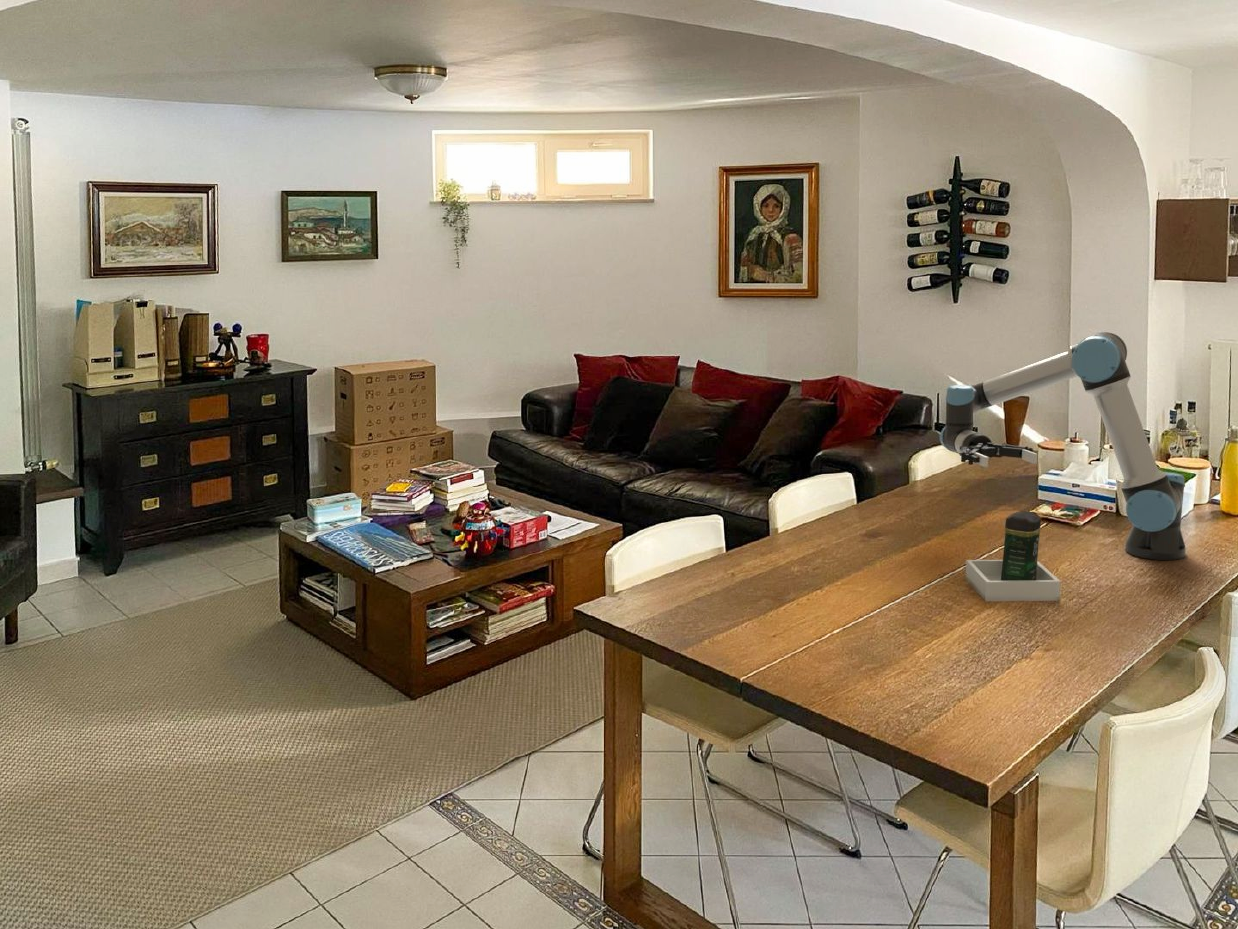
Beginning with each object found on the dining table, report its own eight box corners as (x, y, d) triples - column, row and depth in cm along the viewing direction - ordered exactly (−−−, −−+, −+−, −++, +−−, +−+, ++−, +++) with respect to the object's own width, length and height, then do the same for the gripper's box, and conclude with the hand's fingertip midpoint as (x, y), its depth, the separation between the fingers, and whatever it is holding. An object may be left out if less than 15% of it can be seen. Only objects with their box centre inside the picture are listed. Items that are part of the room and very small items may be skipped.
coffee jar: (1028, 591, 268) (1034, 519, 264) (997, 585, 272) (1001, 514, 268) (1040, 580, 275) (1045, 511, 271) (1009, 575, 280) (1013, 506, 276)
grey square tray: (1034, 577, 281) (1035, 559, 280) (1059, 600, 263) (1060, 581, 262) (965, 578, 282) (966, 560, 281) (985, 601, 264) (986, 582, 263)
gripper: (1015, 456, 303) (1055, 471, 282) (931, 461, 300) (965, 477, 279) (1016, 430, 301) (1056, 443, 281) (932, 435, 298) (966, 449, 277)
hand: (1011, 460), depth 280 cm, fingers open, 13 cm apart
